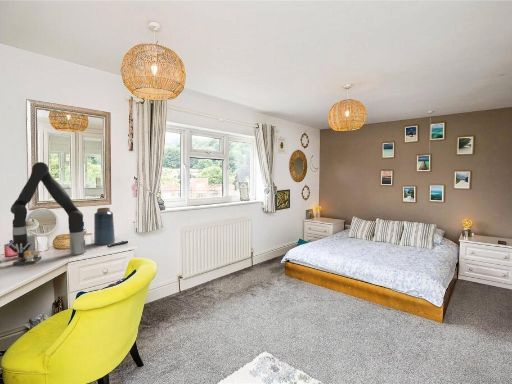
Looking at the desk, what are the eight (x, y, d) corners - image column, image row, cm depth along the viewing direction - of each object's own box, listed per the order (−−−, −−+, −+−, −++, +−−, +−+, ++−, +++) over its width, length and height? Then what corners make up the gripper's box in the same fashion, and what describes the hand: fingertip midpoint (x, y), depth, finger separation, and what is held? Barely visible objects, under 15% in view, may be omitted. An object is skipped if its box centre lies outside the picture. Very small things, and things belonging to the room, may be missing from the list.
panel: (42, 258, 193) (41, 250, 193) (33, 264, 182) (33, 255, 181) (22, 260, 190) (21, 251, 190) (12, 265, 178) (11, 256, 178)
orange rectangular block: (33, 257, 188) (32, 250, 188) (30, 259, 185) (30, 252, 184) (25, 258, 187) (25, 251, 187) (22, 260, 183) (22, 252, 183)
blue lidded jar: (97, 241, 245) (96, 207, 243) (117, 240, 249) (116, 207, 247) (91, 246, 229) (89, 209, 227) (112, 244, 233) (110, 209, 231)
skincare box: (25, 258, 195) (23, 237, 194) (17, 257, 196) (16, 236, 195) (36, 254, 203) (35, 234, 202) (29, 254, 205) (28, 234, 204)
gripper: (34, 231, 189) (35, 255, 190) (11, 232, 185) (12, 257, 186) (28, 233, 182) (29, 258, 183) (4, 235, 178) (6, 260, 179)
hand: (21, 257), depth 185 cm, fingers closed
